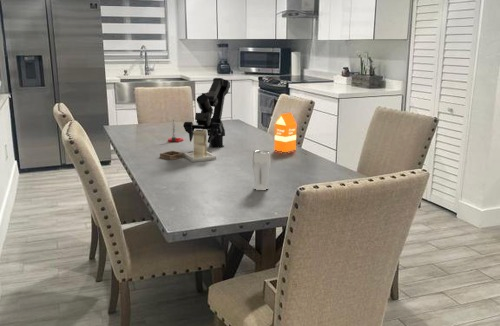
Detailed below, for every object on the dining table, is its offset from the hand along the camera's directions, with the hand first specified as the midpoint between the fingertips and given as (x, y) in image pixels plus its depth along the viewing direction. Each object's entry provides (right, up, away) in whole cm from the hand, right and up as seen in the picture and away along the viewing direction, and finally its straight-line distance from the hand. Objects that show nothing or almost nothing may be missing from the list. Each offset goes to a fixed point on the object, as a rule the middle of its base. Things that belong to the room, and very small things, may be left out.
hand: (199, 141), depth 236 cm
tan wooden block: (0, -7, +3) cm, 8 cm away
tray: (0, -8, +3) cm, 9 cm away
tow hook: (-18, +2, +45) cm, 49 cm away
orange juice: (+44, -4, +22) cm, 49 cm away
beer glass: (+29, -21, -45) cm, 58 cm away
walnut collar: (-14, -7, +5) cm, 17 cm away
